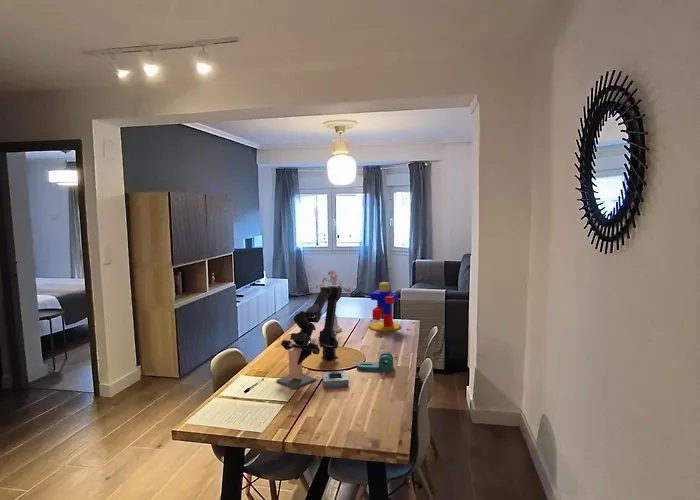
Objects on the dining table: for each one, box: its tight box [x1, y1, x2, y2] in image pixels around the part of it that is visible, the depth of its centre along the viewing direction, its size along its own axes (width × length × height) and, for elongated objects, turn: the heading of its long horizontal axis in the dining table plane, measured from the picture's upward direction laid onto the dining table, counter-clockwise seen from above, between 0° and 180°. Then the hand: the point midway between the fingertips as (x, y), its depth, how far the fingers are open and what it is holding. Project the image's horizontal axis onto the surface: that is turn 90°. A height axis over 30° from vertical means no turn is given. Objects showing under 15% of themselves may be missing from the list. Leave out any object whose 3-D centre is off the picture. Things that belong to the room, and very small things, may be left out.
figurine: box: [368, 281, 402, 333], centre depth 287 cm, size 22×22×30 cm
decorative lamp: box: [315, 269, 353, 336], centre depth 279 cm, size 28×24×40 cm
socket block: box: [321, 370, 350, 390], centre depth 200 cm, size 11×11×4 cm
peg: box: [287, 347, 304, 379], centre depth 202 cm, size 4×4×13 cm
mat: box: [275, 373, 317, 390], centre depth 203 cm, size 13×13×1 cm
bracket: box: [356, 351, 394, 373], centre depth 216 cm, size 18×7×8 cm, turn 81°
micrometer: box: [307, 338, 319, 347], centre depth 256 cm, size 15×7×2 cm, turn 164°
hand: (293, 363), depth 201 cm, fingers closed on peg, 4 cm apart
